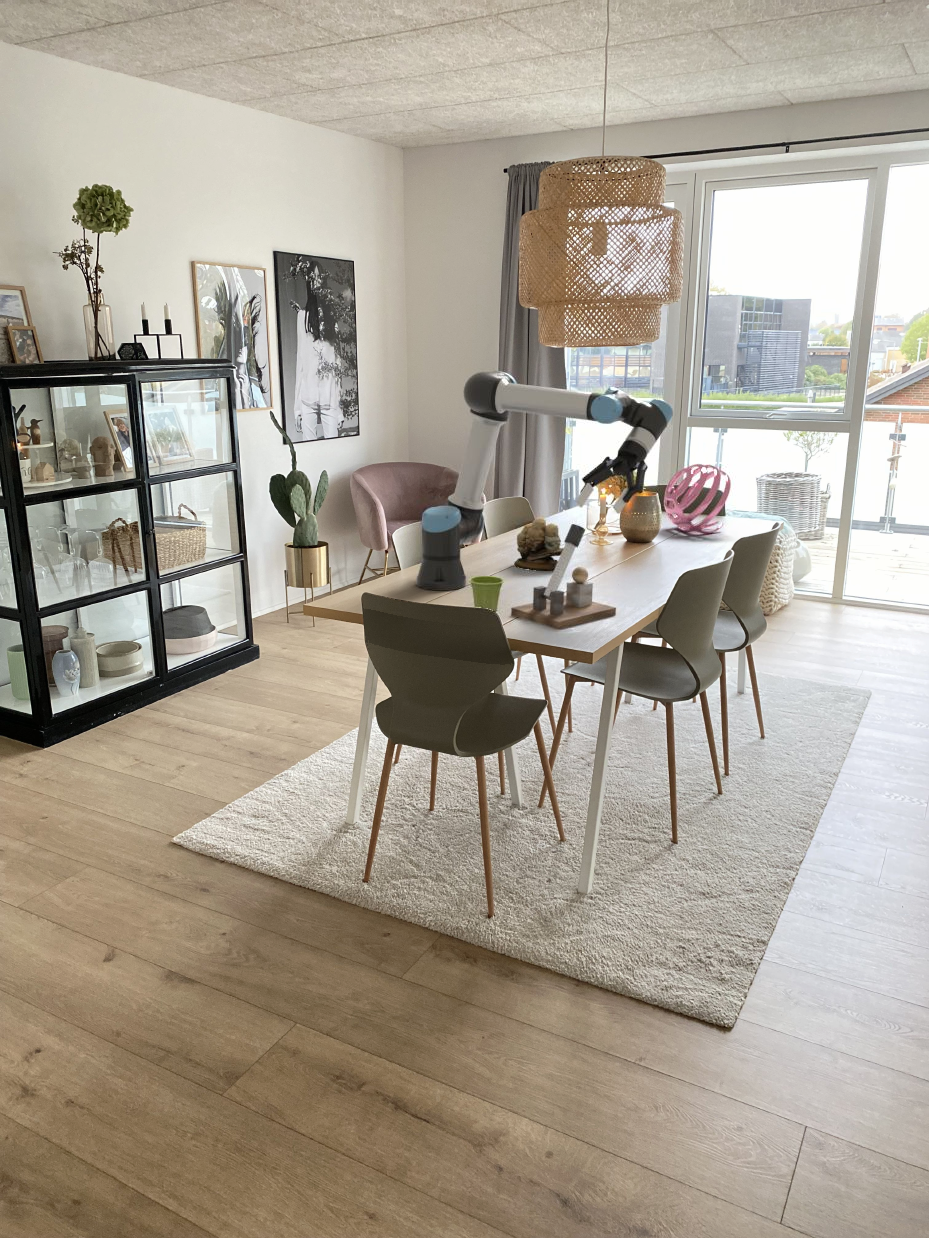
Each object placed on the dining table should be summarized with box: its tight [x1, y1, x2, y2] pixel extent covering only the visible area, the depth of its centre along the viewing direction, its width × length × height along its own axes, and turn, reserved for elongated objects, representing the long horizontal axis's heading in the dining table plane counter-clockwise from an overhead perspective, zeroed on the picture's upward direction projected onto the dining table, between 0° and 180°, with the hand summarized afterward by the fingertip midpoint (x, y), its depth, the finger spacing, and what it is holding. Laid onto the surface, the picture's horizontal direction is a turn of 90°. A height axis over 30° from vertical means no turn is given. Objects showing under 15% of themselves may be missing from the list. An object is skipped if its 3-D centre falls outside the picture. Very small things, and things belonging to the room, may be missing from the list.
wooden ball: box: [571, 566, 589, 583], centre depth 257 cm, size 4×4×4 cm
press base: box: [510, 580, 617, 630], centre depth 255 cm, size 18×22×8 cm
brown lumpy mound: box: [513, 516, 564, 572], centre depth 312 cm, size 18×12×17 cm, turn 60°
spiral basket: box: [663, 463, 732, 535], centre depth 375 cm, size 28×28×27 cm
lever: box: [542, 523, 586, 600], centre depth 252 cm, size 4×4×21 cm
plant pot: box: [469, 575, 504, 612], centre depth 260 cm, size 9×9×9 cm
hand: (596, 507), depth 256 cm, fingers open, 13 cm apart
